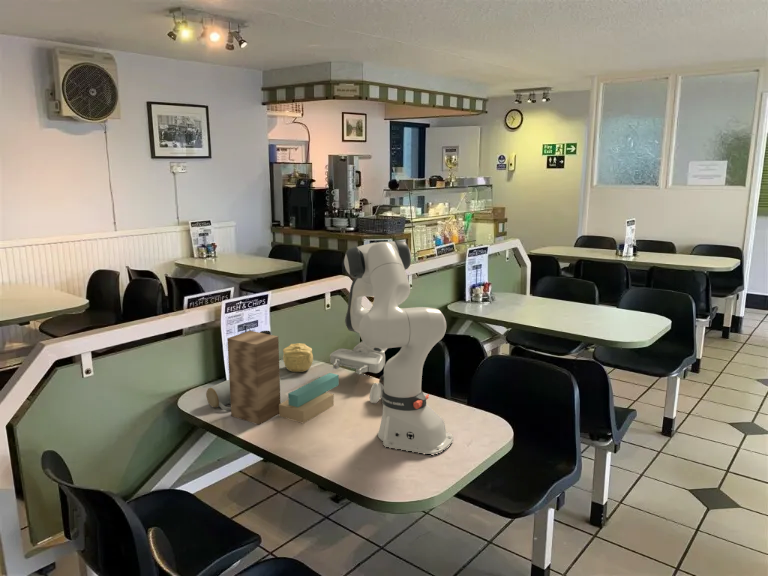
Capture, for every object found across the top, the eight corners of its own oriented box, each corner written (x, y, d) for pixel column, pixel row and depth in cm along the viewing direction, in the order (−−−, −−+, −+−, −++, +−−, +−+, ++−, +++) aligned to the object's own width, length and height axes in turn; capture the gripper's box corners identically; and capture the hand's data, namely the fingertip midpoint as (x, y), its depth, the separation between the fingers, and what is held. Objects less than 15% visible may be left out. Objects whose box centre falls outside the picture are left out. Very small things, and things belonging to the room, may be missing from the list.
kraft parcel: (333, 405, 196) (333, 394, 195) (303, 423, 182) (303, 411, 181) (309, 399, 201) (309, 388, 200) (279, 416, 187) (278, 404, 186)
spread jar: (412, 403, 198) (412, 370, 196) (387, 412, 191) (387, 378, 188) (388, 392, 207) (388, 361, 204) (363, 401, 200) (363, 369, 197)
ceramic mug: (205, 405, 195) (204, 383, 194) (226, 398, 201) (225, 377, 200) (223, 414, 188) (222, 392, 187) (244, 407, 194) (243, 385, 193)
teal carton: (338, 385, 203) (338, 374, 202) (297, 407, 184) (297, 396, 183) (329, 383, 205) (329, 372, 204) (288, 404, 186) (288, 393, 185)
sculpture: (282, 375, 223) (281, 348, 221) (285, 364, 235) (284, 338, 233) (312, 374, 224) (311, 347, 222) (313, 364, 236) (313, 338, 233)
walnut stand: (280, 413, 190) (278, 336, 184) (259, 424, 181) (256, 344, 176) (253, 405, 196) (250, 330, 190) (231, 416, 187) (227, 338, 182)
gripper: (340, 341, 223) (320, 356, 211) (388, 351, 214) (371, 367, 203) (340, 356, 225) (321, 371, 213) (388, 366, 216) (371, 383, 205)
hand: (346, 369), depth 208 cm, fingers open, 8 cm apart
